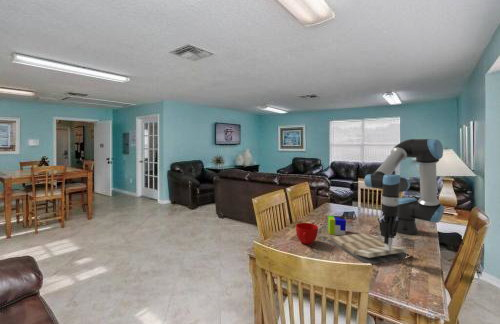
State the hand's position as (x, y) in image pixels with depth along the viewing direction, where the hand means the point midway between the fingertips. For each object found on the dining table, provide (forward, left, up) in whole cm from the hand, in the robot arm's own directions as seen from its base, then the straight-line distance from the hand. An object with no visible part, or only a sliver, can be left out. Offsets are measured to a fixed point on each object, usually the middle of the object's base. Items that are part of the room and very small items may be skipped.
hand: (387, 249), depth 132 cm
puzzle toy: (0, -42, -6) cm, 42 cm away
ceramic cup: (+30, -31, -6) cm, 43 cm away
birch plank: (0, -4, -3) cm, 5 cm away
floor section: (0, -14, -5) cm, 15 cm away
